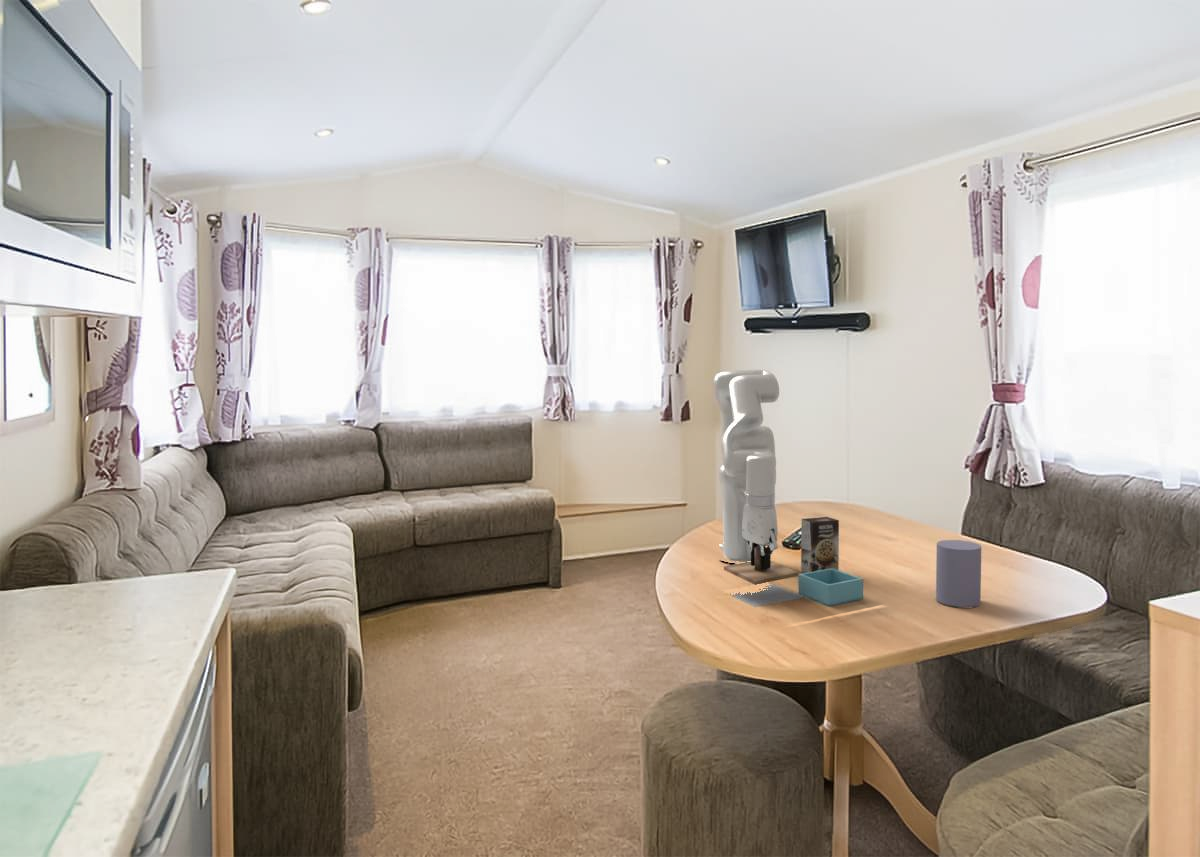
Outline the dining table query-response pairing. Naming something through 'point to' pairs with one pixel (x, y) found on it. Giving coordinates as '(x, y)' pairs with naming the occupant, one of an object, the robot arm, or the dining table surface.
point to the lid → (758, 575)
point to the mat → (767, 596)
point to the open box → (830, 586)
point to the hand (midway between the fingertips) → (760, 566)
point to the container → (958, 573)
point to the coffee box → (819, 544)
